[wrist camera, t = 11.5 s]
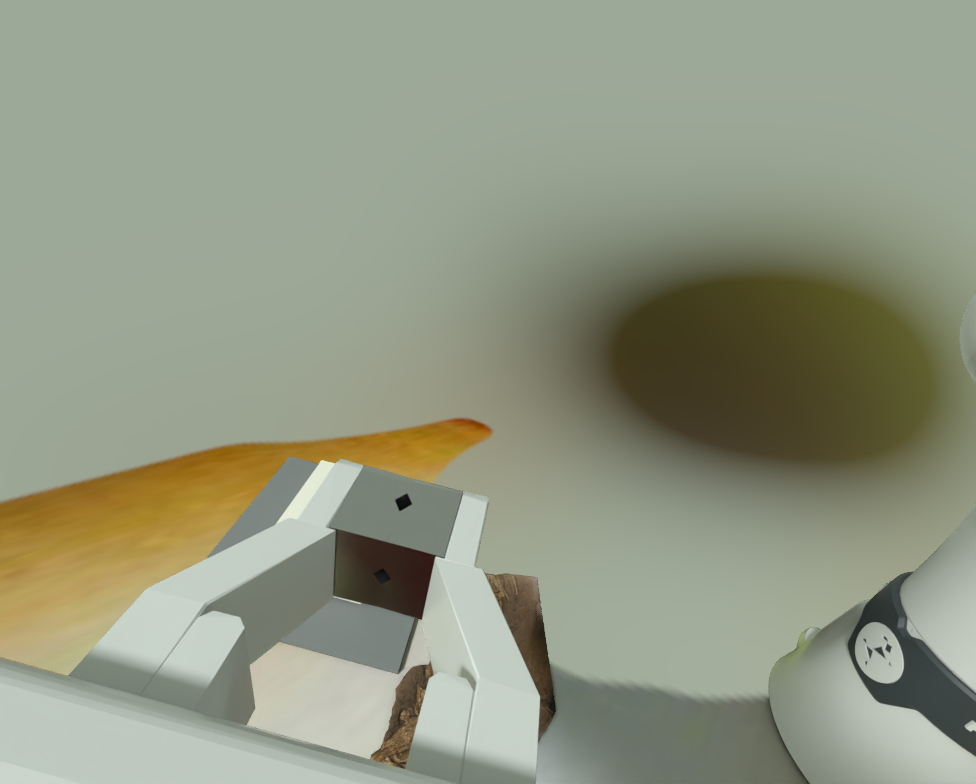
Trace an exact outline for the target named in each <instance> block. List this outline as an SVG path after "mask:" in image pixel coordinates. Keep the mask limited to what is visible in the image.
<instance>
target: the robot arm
mask: <svg viewBox="0 0 976 784" xmlns="http://www.w3.org/2000/svg"><path fill="white" fill-rule="evenodd" d="M960 347H961V352H962V357H963V360H964V363H965V366H966V368H967V370H968V371H969V373H970V375H971V377H972V378H973V380H974V382H975V383H976V292H975V293H974V295H973V296H972V298H971V300H970V302H969V304H968V306H967V308H966V310H965V313H964V316H963V320H962V323H961V330H960ZM462 495H463V496H462ZM488 504H489V499H488V497H485V496H481V495H477V494H472V493H468V492H464V493H463V491H460V490H456V489H452V488H448V487H444V486H440V485H436V484H432V483H428V482H424V481H420V480H416V479H411V478H408V477H405V476H401V475H398V474H394V473H391V472H387V471H384V470H380V469H377V468H373V467H370V466H364V465H361V464H357V463H354V462H351V461H347V460H344V459H341V460H339V461H338V462H337V463H335V465H334V466H333V467H332V469H331V470H330V472H329V473H328V475H327V476H326V478H325V479H324V481H323V482H322V484H321V485H320V487H319V488H318V490H317V491H316V493H315V494H314V496H313V497H312V499H311V500H310V502H309V503H308V504H307V506H306V507H305V509H304V510H303V512H302V513H301V515H300V516H299V518H298V519H297V520H296V519H292V518H288V519H286V520H284V521H282V522H280V523H278V524H276V525H274V526H272V527H270V528H268V529H266V530H264V531H262V532H260V533H258V534H256V535H254V536H252V537H250V538H248V539H246V540H244V541H242V542H240V543H238V544H236V545H234V546H232V547H230V548H228V549H226V550H224V551H222V552H220V553H217V554H215V555H213V556H211V557H209V558H207V559H205V560H203V561H201V562H199V563H197V564H195V565H193V566H191V567H189V568H187V569H185V570H183V571H181V572H179V573H177V574H175V575H173V576H171V577H169V578H167V579H165V580H163V581H161V582H159V583H157V584H155V585H153V586H151V587H149V588H147V589H146V590H145V591H144V592H143V593H142V594H141V595H140V596H139V598H138V599H137V600H136V601H135V602H134V603H133V604H132V605H131V606H130V608H129V609H128V610H127V611H126V612H125V613H124V614H123V615H122V616H121V618H120V619H119V620H118V621H117V622H116V623H115V624H114V625H113V627H112V628H111V629H110V630H109V631H108V632H107V633H106V634H105V635H104V637H103V638H102V639H101V640H100V641H99V642H98V643H97V644H96V645H95V647H94V648H93V649H92V650H91V651H90V652H89V653H88V654H87V655H86V657H85V658H84V659H83V660H82V661H81V662H80V663H79V664H78V665H77V667H76V668H75V669H74V670H73V671H72V672H71V673H70V674H69V675H68V676H67V675H63V674H59V673H56V672H52V671H49V670H45V669H41V668H38V667H34V666H30V665H27V664H23V663H20V662H16V661H12V660H9V659H5V658H2V657H0V784H536V766H537V746H538V727H539V708H540V696H539V693H538V691H537V689H536V687H535V684H534V682H533V680H532V678H531V675H530V673H529V671H528V669H527V666H526V664H525V662H524V660H523V657H522V655H521V653H520V651H519V648H518V646H517V644H516V642H515V639H514V637H513V635H512V633H511V630H510V628H509V626H508V624H507V621H506V619H505V617H504V615H503V612H502V610H501V608H500V606H499V604H498V601H497V599H496V597H495V595H494V592H493V590H492V588H491V586H490V583H489V581H488V579H487V577H486V574H485V572H484V570H483V569H480V568H477V567H476V562H477V557H478V553H479V548H480V543H481V538H482V533H483V529H484V524H485V519H486V514H487V509H488ZM333 596H335V597H339V598H343V599H347V600H352V601H356V602H360V603H364V604H368V605H373V606H377V607H380V608H384V609H387V610H390V611H394V612H397V613H400V614H404V615H407V616H410V617H414V618H417V619H420V620H422V621H421V623H422V627H423V631H424V636H425V640H426V644H427V648H428V652H429V656H430V661H431V665H432V669H433V673H434V676H432V677H431V678H429V681H428V684H427V688H426V692H425V696H424V699H423V703H422V707H421V711H420V714H419V718H418V722H417V725H416V729H415V733H414V737H413V740H412V744H411V748H410V752H409V755H408V759H407V763H406V767H405V769H403V768H399V767H395V766H392V765H388V764H384V763H381V762H377V761H374V760H370V759H366V758H363V757H359V756H356V755H352V754H348V753H345V752H341V751H338V750H334V749H330V748H327V747H323V746H320V745H316V744H312V743H309V742H305V741H301V740H298V739H294V738H291V737H287V736H283V735H280V734H276V733H273V732H269V731H265V730H262V729H258V728H255V727H251V726H247V723H248V721H249V719H250V717H251V715H252V713H253V711H254V710H255V702H254V695H253V688H252V680H251V673H250V664H252V663H253V662H254V661H256V660H257V659H258V658H259V657H261V656H262V655H263V654H264V653H266V652H267V651H268V650H269V649H271V648H272V647H273V646H274V645H276V644H277V643H278V642H279V641H281V640H282V639H283V638H285V637H286V636H287V635H288V634H290V633H291V632H292V631H293V630H295V629H296V628H297V627H298V626H300V625H301V624H302V623H303V622H305V621H306V620H307V619H308V618H310V617H311V616H312V615H314V614H315V613H316V612H317V611H319V610H320V609H321V608H322V607H324V606H325V605H326V604H327V603H329V602H330V601H331V600H332V599H333ZM769 699H770V705H771V709H772V713H773V716H774V720H775V722H776V725H777V728H778V730H779V732H780V735H781V737H782V739H783V741H784V743H785V745H786V747H787V749H788V751H789V752H790V754H791V756H792V758H793V759H794V761H795V763H796V764H797V766H798V767H799V769H800V770H801V772H802V773H803V775H804V776H805V777H806V779H807V780H808V781H809V783H810V784H976V504H975V505H974V507H973V508H972V510H971V511H970V513H969V514H968V515H967V517H965V519H964V520H963V521H962V522H961V523H960V525H959V526H958V527H957V528H956V530H955V531H954V532H953V533H952V534H951V535H950V536H949V537H948V538H947V539H946V541H945V542H944V543H943V544H942V545H941V546H940V547H939V548H938V549H937V550H936V551H935V552H934V553H933V554H932V555H931V556H930V557H929V558H928V559H927V560H926V561H925V562H924V563H923V564H922V565H921V566H920V567H919V568H918V569H916V570H915V571H914V572H907V573H904V574H901V575H899V576H898V577H896V578H895V579H894V580H893V581H890V582H889V583H886V584H885V585H884V586H883V587H881V588H880V589H879V592H878V593H877V594H876V595H875V596H874V597H873V598H872V599H871V600H864V601H862V602H860V603H859V604H857V605H856V606H854V607H853V608H851V609H850V610H848V611H847V612H845V613H844V614H843V615H841V616H840V617H838V618H837V619H836V620H834V621H833V622H831V623H830V624H828V625H827V626H825V627H824V628H823V629H819V628H816V627H810V628H808V629H807V630H805V631H804V632H803V633H802V634H801V635H800V637H799V641H798V644H797V648H796V649H795V650H794V651H792V652H791V653H789V654H787V655H785V656H783V657H782V658H780V659H779V660H778V661H777V662H776V664H775V665H774V667H773V669H772V671H771V674H770V678H769Z"/></svg>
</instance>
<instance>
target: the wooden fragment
mask: <svg viewBox="0 0 976 784" xmlns="http://www.w3.org/2000/svg"><path fill="white" fill-rule="evenodd" d="M485 574H486V573H485ZM486 577H487V579H488V581H489V583H490V586H491V588H492V590H493V592H494V595H495V597H496V599H497V601H498V604H499V606H500V608H501V610H502V612H503V615H504V617H505V619H506V621H507V624H508V626H509V628H510V630H511V633H512V635H513V637H514V639H515V642H516V644H517V646H518V648H519V651H520V653H521V655H522V657H523V660H524V662H525V664H526V666H527V669H528V671H529V673H530V675H531V678H532V680H533V682H534V684H535V687H536V689H537V691H538V693H539V696H540V708H539V727H538V739H540V735H542V734H543V733H544V731H545V730H546V728H547V726H548V725H549V723H550V721H551V719H552V717H553V715H554V714H555V712H556V709H555V700H554V695H553V684H552V679H551V672H550V664H549V658H548V652H547V644H546V637H545V631H544V623H543V616H542V613H541V612H542V611H541V610H542V609H541V606H540V595H539V588H538V581H537V577H532V576H523V575H512V574H499V575H493V574H486ZM432 676H434V673H433V669H432V665H431V661H430V663H429V665H421V666H415V667H412V668H411V669H410V670H409V671H408V673H407V674H406V675H405V676H404V678H403V679H402V681H401V683H400V684H399V685H398V687H397V688H396V701H395V704H394V706H393V708H392V716H391V719H390V721H389V723H390V725H389V729H388V731H387V732H386V734H385V737H384V741H383V744H382V745H381V748H380V749H379V750H377V751H376V752H374V753H373V754H372V755H371V758H370V760H374V761H377V762H381V763H384V764H388V765H392V766H395V767H399V768H403V769H405V767H406V763H407V759H408V755H409V752H410V748H411V744H412V740H413V737H414V733H415V729H416V725H417V722H418V718H419V714H420V711H421V707H422V703H423V699H424V696H425V692H426V688H427V684H428V681H429V678H431V677H432ZM545 708H546V709H548V710H549V711H550V712H551V713H552V714H553V715H551V714H550V713H549V712H548V710H546V709H545Z"/></svg>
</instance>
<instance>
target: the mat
mask: <svg viewBox="0 0 976 784" xmlns="http://www.w3.org/2000/svg"><path fill="white" fill-rule="evenodd" d="M318 465H319V464H317V463H313V462H309V461H306V460H302V459H298V458H294V457H289V458H288V459H287V460H286V462H285V463H284V464H283V465H282V467H281V468H280V469H279V470H278V471H277V473H276V474H275V475H274V476H273V478H272V479H271V480H270V481H269V482H268V484H267V485H266V486H265V487H264V489H263V490H262V491H261V492H260V493H259V495H258V496H257V497H256V498H255V500H254V501H253V502H252V503H251V504H250V506H249V507H248V508H247V509H246V511H245V512H244V513H243V514H242V515H241V517H240V518H239V519H238V520H237V521H236V523H235V524H234V525H233V526H232V528H231V529H230V530H229V531H228V532H227V534H226V535H225V536H224V537H223V539H222V540H221V541H220V542H219V543H218V545H217V546H216V547H215V548H214V550H213V551H212V552H211V553H210V554H209V556H208V557H207V558H209V557H211V556H213V555H215V554H217V553H220V552H222V551H224V550H226V549H228V548H230V547H232V546H234V545H236V544H238V543H240V542H242V541H244V540H246V539H248V538H250V537H252V536H254V535H256V534H258V533H260V532H262V531H264V530H266V529H268V528H270V527H272V526H274V525H275V524H276V523H277V522H278V520H279V519H280V517H281V516H282V515H283V513H284V512H285V510H286V509H287V508H288V506H289V505H290V504H291V502H292V501H293V499H294V498H295V497H296V495H297V494H298V492H299V491H300V490H301V488H302V487H303V485H304V484H305V483H306V481H307V480H308V478H309V477H310V476H311V474H312V473H313V472H314V470H315V469H316V467H317V466H318ZM207 558H206V559H207ZM414 620H415V618H414V617H410V616H407V615H404V614H400V613H397V612H394V611H390V610H387V609H384V608H380V607H377V606H373V605H368V604H364V603H361V604H358V603H354V602H350V601H347V600H343V599H339V598H335V597H333V599H332V600H331V601H330V602H329V603H327V604H326V605H325V606H324V607H322V608H321V609H320V610H319V611H317V612H316V613H315V614H314V615H312V616H311V617H310V618H308V619H307V620H306V621H305V622H303V623H302V624H301V625H300V626H298V627H297V628H296V629H295V630H293V631H292V632H291V633H290V634H288V635H287V636H286V637H285V638H283V639H282V640H281V641H279V642H282V643H286V644H290V645H293V646H297V647H301V648H304V649H308V650H312V651H315V652H319V653H323V654H326V655H330V656H334V657H337V658H341V659H345V660H348V661H352V662H356V663H359V664H363V665H367V666H370V667H374V668H377V669H381V670H385V671H388V672H392V673H396V674H398V672H399V668H400V665H401V662H402V659H403V655H404V652H405V649H406V646H407V643H408V639H409V636H410V633H411V630H412V626H413V623H414Z"/></svg>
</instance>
